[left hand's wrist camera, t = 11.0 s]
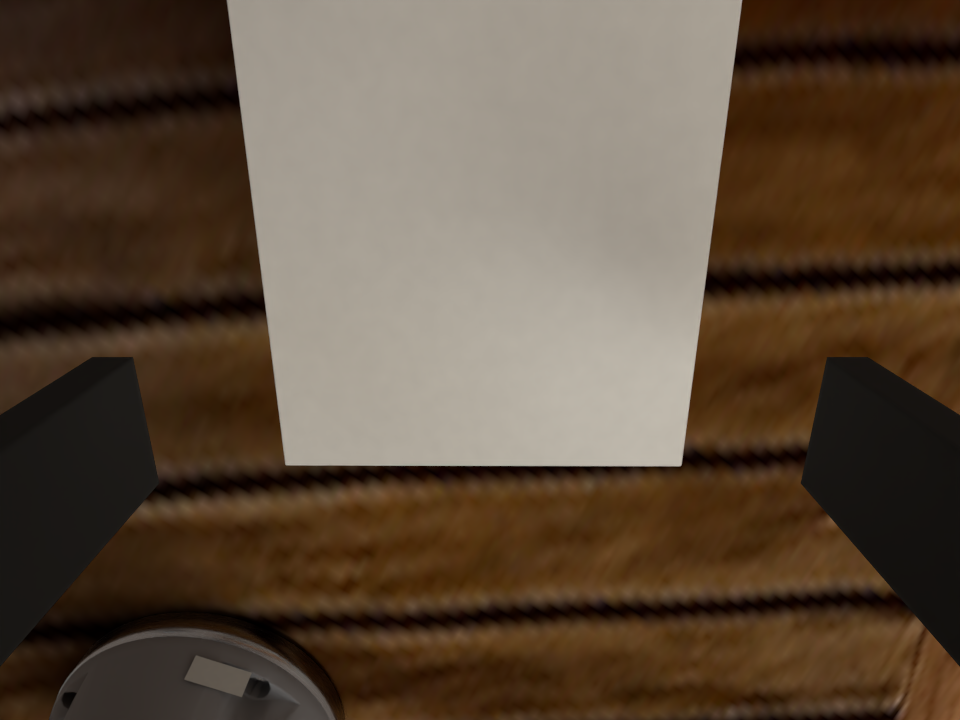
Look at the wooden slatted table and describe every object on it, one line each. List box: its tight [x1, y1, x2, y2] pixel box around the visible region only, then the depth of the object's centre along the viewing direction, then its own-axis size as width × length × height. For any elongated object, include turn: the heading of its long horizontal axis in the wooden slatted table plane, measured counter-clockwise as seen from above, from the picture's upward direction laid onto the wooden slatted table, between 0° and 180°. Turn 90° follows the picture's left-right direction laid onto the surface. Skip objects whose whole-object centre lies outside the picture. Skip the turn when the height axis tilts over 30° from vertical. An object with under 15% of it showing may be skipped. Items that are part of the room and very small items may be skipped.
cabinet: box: [227, 0, 742, 466], centre depth 19 cm, size 21×11×10 cm, turn 0°
